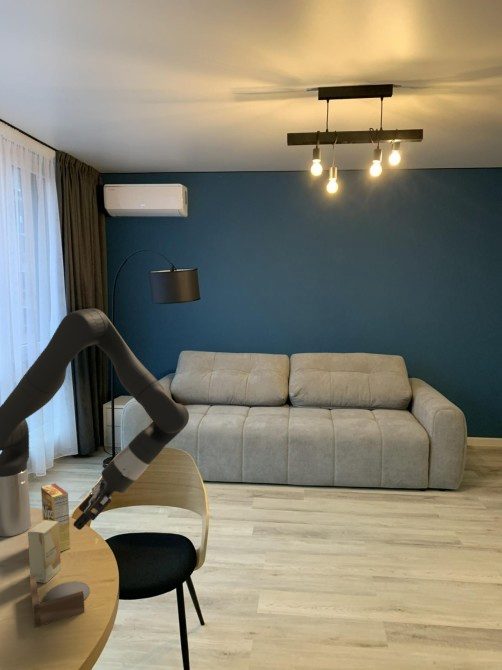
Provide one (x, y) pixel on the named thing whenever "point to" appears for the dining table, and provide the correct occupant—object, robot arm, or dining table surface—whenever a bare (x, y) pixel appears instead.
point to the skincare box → (44, 550)
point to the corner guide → (54, 606)
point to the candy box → (57, 511)
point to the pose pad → (67, 590)
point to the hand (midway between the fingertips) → (79, 518)
